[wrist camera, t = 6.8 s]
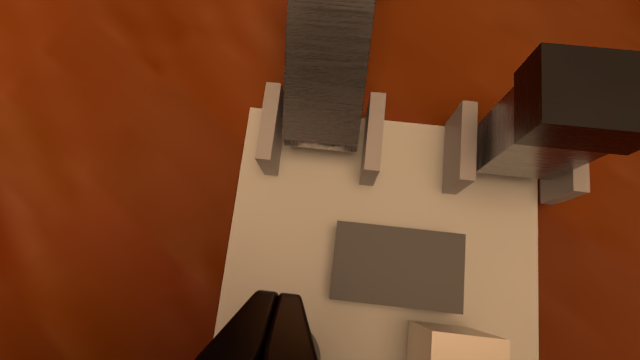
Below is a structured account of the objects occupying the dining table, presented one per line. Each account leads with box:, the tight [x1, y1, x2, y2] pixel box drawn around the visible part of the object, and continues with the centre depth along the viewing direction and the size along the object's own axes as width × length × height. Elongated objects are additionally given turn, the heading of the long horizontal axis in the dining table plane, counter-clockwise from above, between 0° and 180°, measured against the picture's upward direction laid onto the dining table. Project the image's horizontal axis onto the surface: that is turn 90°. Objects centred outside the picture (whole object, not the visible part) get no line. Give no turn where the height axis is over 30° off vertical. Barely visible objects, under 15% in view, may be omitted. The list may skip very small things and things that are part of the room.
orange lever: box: [282, 0, 376, 153], centre depth 16 cm, size 2×3×10 cm
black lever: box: [476, 43, 640, 180], centre depth 15 cm, size 2×3×7 cm
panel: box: [214, 82, 590, 360], centre depth 17 cm, size 14×14×4 cm
